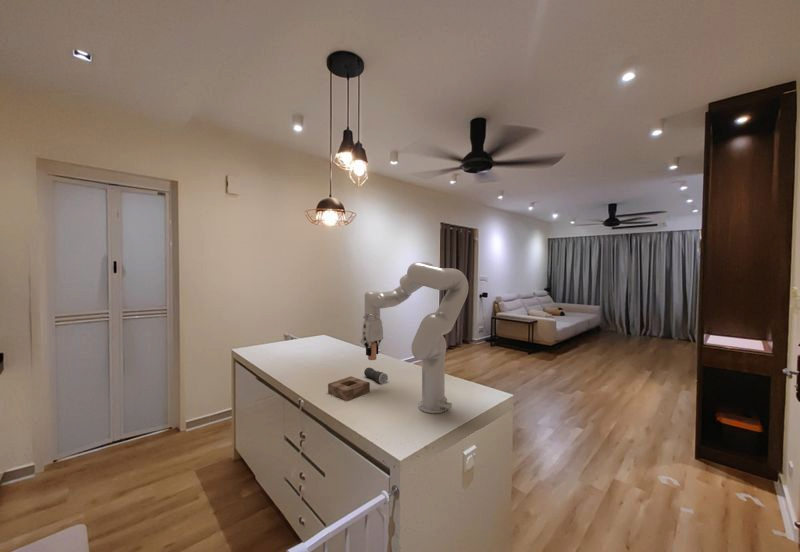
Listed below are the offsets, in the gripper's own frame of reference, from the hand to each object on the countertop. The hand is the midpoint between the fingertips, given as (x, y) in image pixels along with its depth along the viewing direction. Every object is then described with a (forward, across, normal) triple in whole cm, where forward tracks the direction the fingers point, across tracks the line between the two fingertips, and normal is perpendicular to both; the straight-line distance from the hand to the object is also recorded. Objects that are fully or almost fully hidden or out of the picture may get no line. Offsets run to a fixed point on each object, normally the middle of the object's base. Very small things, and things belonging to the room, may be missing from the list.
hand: (372, 354), depth 151 cm
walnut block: (+18, -9, +6) cm, 21 cm away
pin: (+2, 0, 0) cm, 2 cm away
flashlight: (+18, +11, +10) cm, 24 cm away
